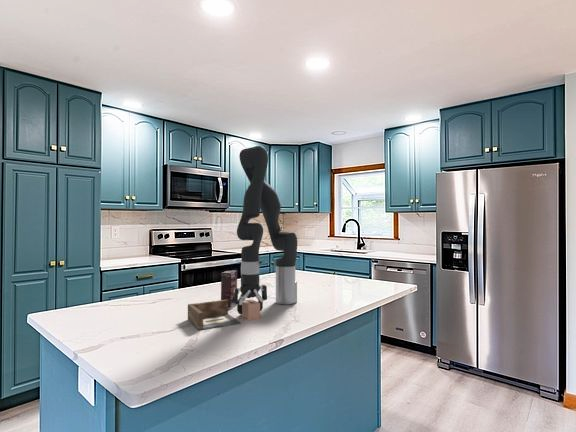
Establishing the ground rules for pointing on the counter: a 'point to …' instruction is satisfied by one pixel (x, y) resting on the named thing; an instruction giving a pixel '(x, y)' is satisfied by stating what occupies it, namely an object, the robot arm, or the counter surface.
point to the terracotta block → (250, 309)
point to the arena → (210, 315)
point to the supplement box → (228, 286)
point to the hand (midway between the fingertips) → (250, 312)
